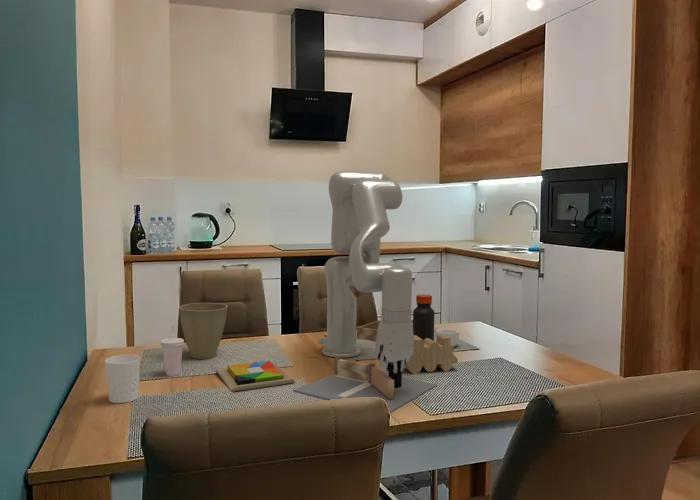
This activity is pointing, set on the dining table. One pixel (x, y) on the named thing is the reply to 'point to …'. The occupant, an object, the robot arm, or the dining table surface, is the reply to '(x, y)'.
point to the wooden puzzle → (253, 375)
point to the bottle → (423, 317)
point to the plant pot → (203, 327)
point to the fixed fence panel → (353, 369)
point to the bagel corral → (368, 331)
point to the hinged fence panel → (382, 382)
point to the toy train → (431, 354)
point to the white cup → (122, 378)
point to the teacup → (450, 335)
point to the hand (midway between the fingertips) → (394, 386)
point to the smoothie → (172, 354)
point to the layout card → (364, 390)
